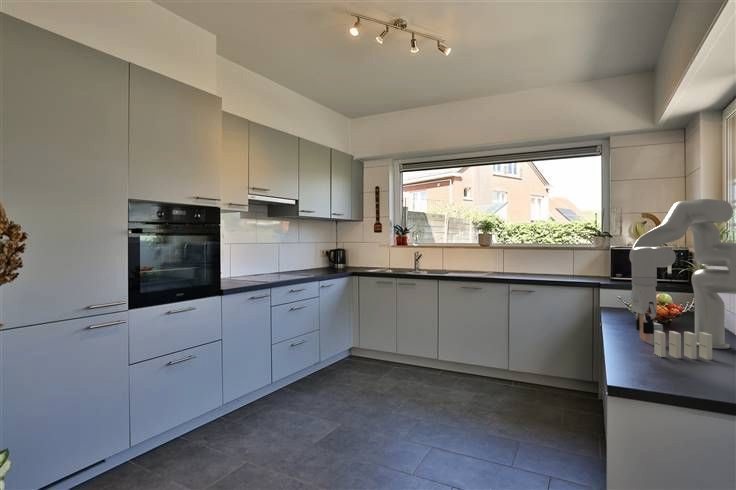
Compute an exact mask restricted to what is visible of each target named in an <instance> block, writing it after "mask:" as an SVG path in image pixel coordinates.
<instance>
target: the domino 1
mask: <svg viewBox="0 0 736 490" xmlns="http://www.w3.org/2000/svg"><path fill="white" fill-rule="evenodd" d="M647 317H648V316H647ZM639 321H640V330H639V339H641V340H642V341H643V340H645V341H651V334H644V333H643V322H644V315H643V314H639Z"/></svg>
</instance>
